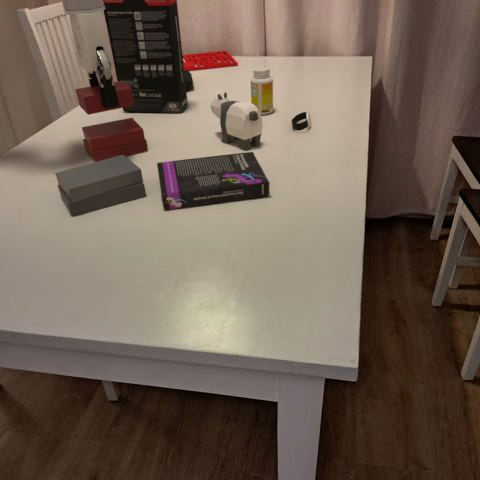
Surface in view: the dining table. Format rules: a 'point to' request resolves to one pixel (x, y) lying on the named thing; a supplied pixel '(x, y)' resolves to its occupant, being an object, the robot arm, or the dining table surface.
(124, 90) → the dark red rectangular block
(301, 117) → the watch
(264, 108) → the supplement bottle
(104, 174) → the grey book pile
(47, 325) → the dining table surface
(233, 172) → the box
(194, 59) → the maze puzzle
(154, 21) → the graphics card box
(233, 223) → the dining table surface
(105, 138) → the burgundy book pile
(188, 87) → the carrying case
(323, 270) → the dining table surface
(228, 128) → the giant panda
